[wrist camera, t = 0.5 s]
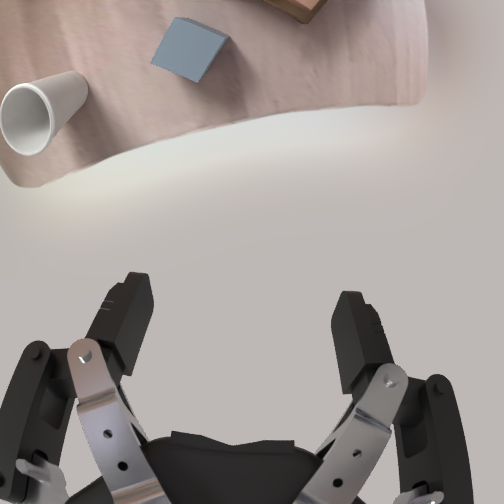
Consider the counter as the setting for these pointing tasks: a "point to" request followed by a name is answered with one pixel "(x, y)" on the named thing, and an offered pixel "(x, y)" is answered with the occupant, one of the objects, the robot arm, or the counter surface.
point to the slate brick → (189, 48)
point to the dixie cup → (40, 110)
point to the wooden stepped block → (298, 8)
